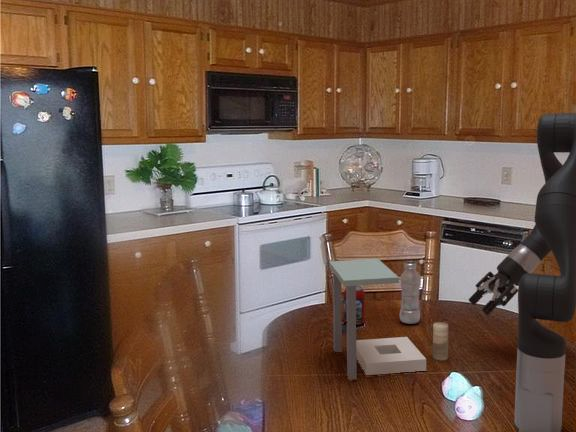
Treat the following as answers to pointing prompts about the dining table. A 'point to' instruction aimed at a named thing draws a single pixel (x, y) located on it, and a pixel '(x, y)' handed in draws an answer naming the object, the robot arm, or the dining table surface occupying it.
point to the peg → (440, 341)
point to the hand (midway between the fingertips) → (477, 307)
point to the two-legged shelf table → (354, 299)
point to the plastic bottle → (410, 294)
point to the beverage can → (357, 304)
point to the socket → (389, 356)
